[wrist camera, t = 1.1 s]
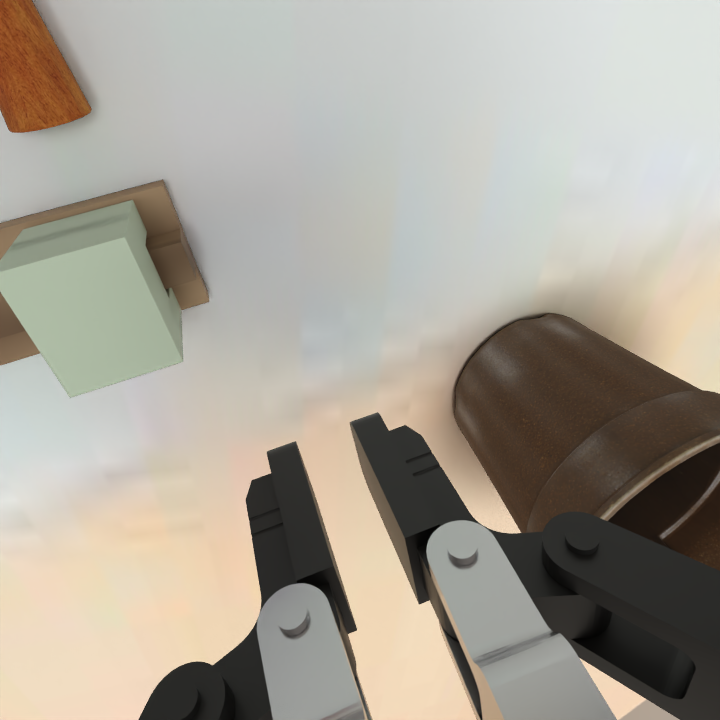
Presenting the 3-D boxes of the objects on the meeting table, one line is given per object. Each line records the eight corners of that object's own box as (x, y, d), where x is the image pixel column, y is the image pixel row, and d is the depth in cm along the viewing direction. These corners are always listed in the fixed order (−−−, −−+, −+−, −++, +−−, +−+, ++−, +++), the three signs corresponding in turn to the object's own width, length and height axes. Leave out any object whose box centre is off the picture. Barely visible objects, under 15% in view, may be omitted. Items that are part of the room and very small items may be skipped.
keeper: (22, 229, 24) (-11, 274, 19) (132, 199, 24) (124, 236, 20) (86, 337, 27) (70, 398, 23) (181, 309, 28) (183, 361, 23)
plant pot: (650, 332, 42) (865, 466, 29) (529, 477, 47) (665, 647, 34) (516, 249, 34) (730, 383, 21) (388, 435, 39) (496, 634, 26)
